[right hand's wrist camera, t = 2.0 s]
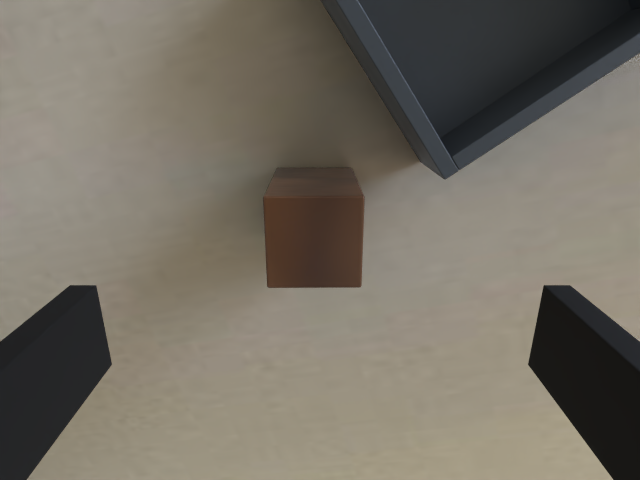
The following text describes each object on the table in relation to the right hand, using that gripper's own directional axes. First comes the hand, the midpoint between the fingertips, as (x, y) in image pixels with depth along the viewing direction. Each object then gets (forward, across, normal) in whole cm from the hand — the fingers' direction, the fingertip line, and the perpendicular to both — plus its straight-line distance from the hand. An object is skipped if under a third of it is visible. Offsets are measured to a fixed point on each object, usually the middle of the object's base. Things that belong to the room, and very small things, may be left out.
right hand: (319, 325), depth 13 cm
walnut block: (+14, 0, 0) cm, 14 cm away
